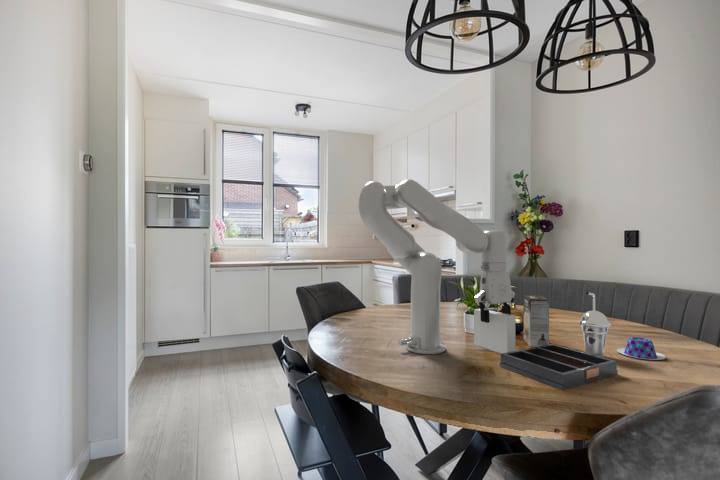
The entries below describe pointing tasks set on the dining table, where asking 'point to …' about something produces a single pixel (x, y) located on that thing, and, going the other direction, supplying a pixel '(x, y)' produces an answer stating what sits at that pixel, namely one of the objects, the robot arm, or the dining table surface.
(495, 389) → the dining table surface
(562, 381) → the tray
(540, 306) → the coffee box
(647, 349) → the pudding
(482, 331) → the panel
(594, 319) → the cup with straw
